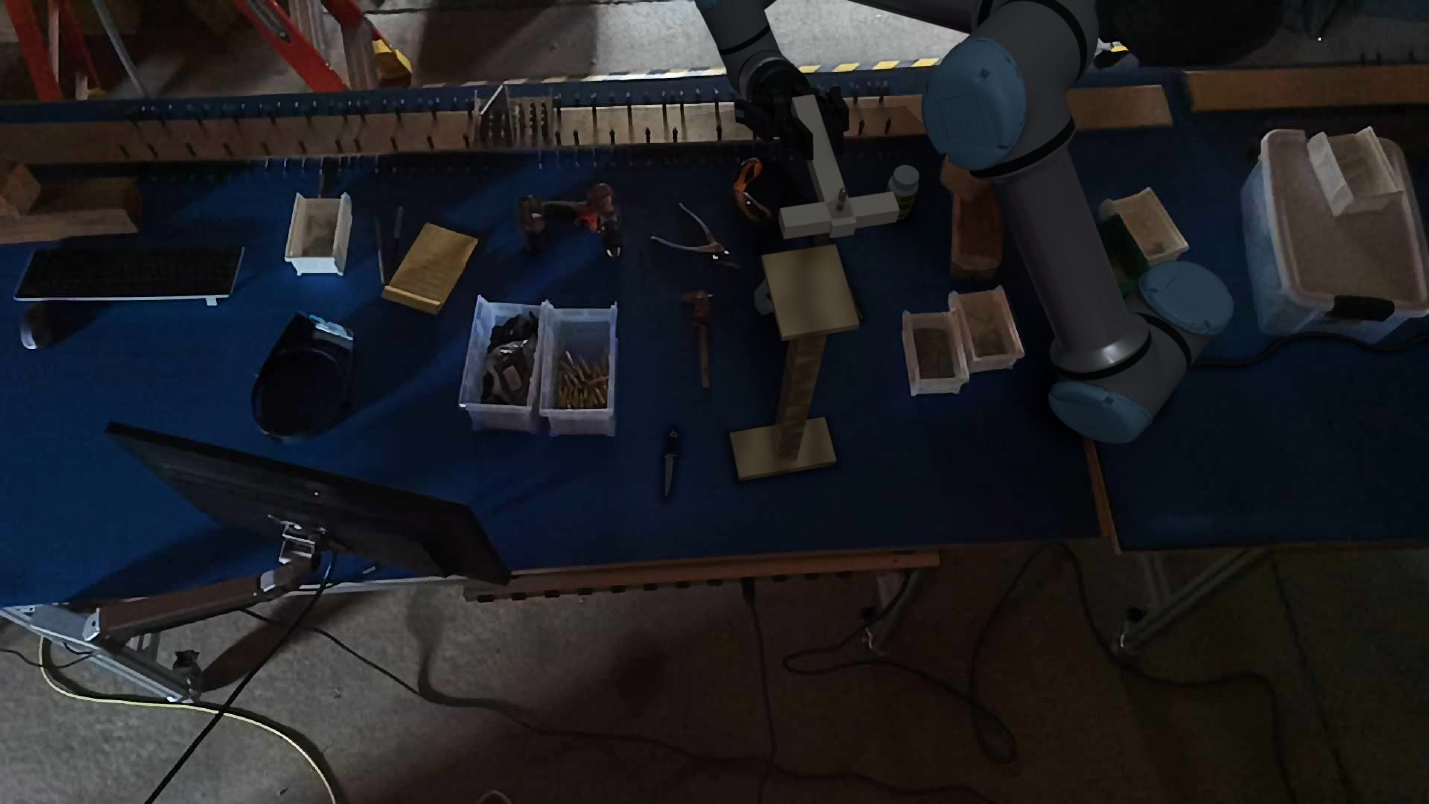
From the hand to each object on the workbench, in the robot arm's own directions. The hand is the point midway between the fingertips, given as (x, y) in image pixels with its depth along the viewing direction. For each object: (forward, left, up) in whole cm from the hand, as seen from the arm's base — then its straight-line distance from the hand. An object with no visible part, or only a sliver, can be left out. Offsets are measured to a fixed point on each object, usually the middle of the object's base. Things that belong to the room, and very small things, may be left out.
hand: (824, 145), depth 89 cm
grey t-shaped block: (0, 0, -4) cm, 4 cm away
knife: (+20, +14, -46) cm, 52 cm away
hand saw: (-11, -15, -46) cm, 49 cm away
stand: (+4, +14, -45) cm, 48 cm away
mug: (-2, -6, -46) cm, 46 cm away
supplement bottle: (-24, -24, -46) cm, 57 cm away
